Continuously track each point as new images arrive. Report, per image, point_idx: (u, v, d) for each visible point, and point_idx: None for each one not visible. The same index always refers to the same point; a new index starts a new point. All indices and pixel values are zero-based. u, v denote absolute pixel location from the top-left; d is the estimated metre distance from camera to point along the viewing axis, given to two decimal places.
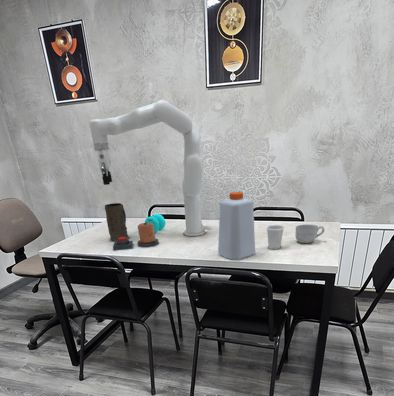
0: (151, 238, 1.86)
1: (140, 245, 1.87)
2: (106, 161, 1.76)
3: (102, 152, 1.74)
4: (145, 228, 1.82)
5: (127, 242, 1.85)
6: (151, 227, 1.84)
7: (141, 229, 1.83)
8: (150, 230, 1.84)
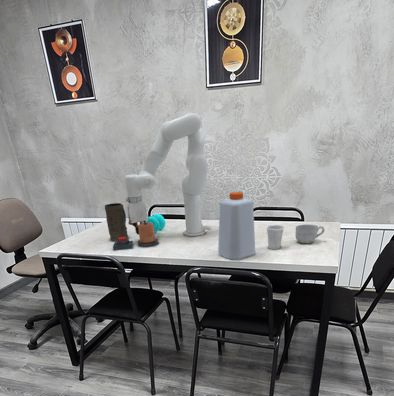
0: (151, 238, 1.86)
1: (140, 245, 1.87)
2: (130, 213, 1.85)
3: (128, 205, 1.83)
4: (145, 228, 1.82)
5: (127, 242, 1.85)
6: (151, 227, 1.84)
7: (141, 229, 1.83)
8: (150, 230, 1.84)
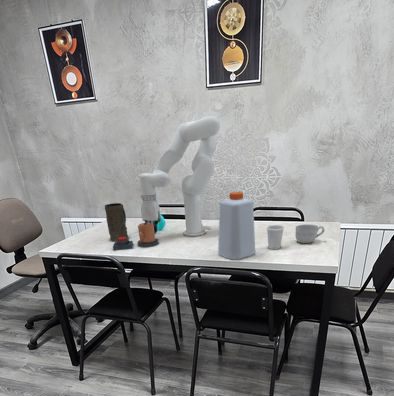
0: (144, 239, 1.85)
1: (140, 245, 1.87)
2: None
3: None
4: (139, 228, 1.83)
5: (127, 242, 1.85)
6: (144, 228, 1.82)
7: (138, 228, 1.86)
8: (143, 231, 1.83)
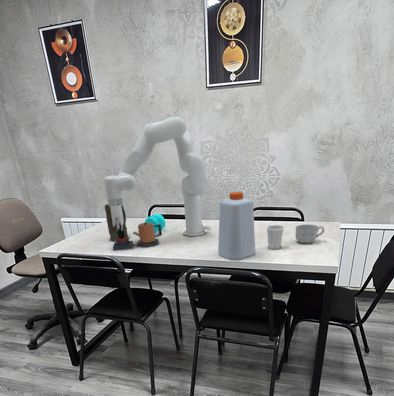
0: (140, 238, 1.86)
1: (140, 245, 1.87)
2: None
3: None
4: (138, 227, 1.85)
5: (127, 242, 1.85)
6: (140, 228, 1.83)
7: None
8: (139, 231, 1.84)
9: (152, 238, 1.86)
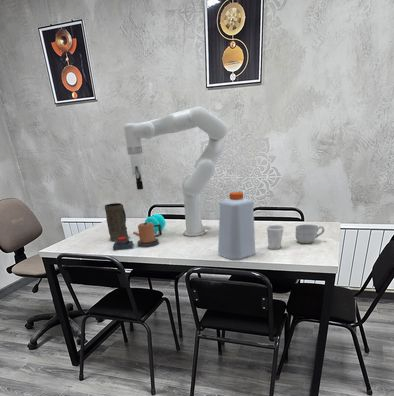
0: (140, 238, 1.86)
1: (140, 245, 1.87)
2: None
3: None
4: (138, 227, 1.85)
5: (127, 242, 1.85)
6: (140, 228, 1.83)
7: None
8: (139, 231, 1.84)
9: (152, 238, 1.86)
